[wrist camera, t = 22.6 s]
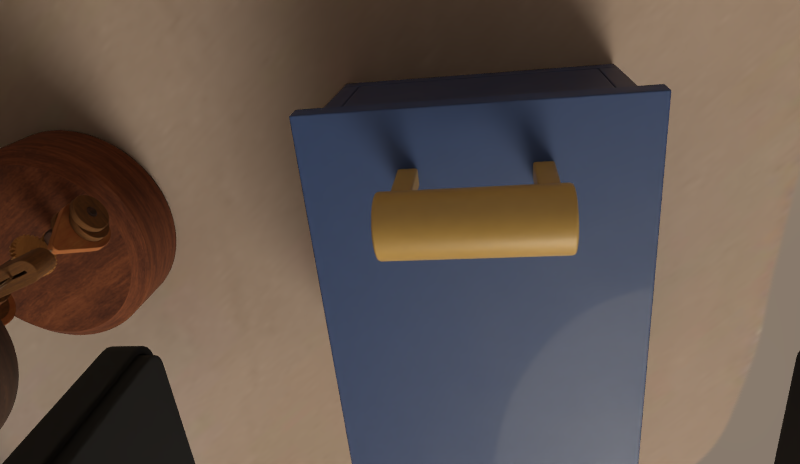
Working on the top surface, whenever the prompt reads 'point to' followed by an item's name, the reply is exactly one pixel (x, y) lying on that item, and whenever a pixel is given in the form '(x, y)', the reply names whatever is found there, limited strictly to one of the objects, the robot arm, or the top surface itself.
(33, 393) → the top surface
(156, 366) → the robot arm
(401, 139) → the lid
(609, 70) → the case
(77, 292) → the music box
